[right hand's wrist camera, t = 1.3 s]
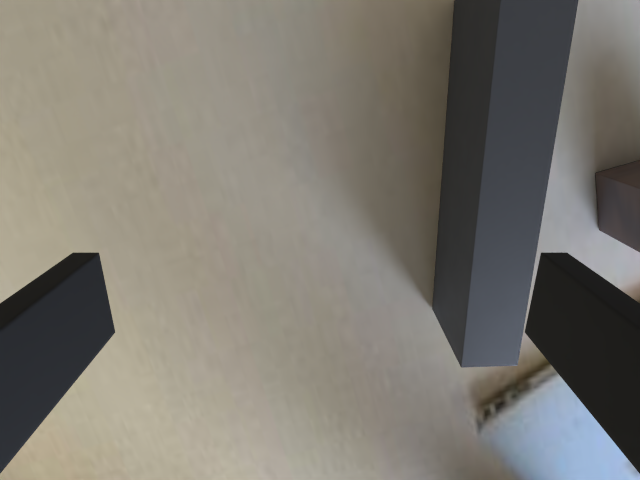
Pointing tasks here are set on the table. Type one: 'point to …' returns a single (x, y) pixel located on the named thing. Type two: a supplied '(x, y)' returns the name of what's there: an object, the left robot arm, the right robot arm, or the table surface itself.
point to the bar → (497, 168)
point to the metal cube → (620, 203)
